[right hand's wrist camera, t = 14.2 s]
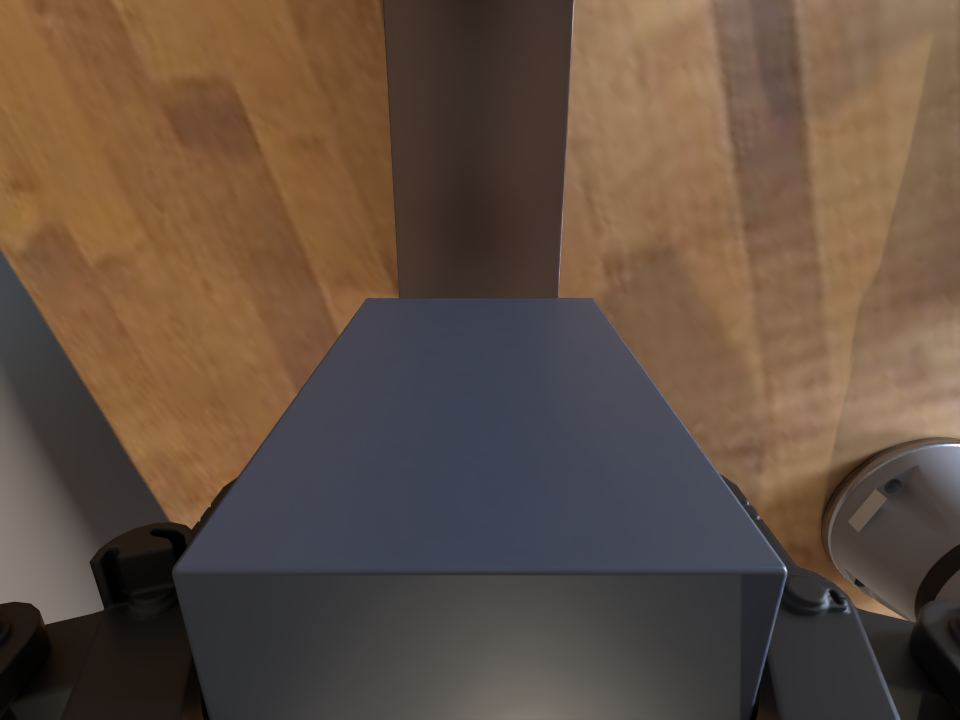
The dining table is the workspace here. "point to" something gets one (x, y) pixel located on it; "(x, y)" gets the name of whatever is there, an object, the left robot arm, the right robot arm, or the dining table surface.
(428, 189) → the walnut beam
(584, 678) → the grey block
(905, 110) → the dining table surface
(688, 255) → the dining table surface
